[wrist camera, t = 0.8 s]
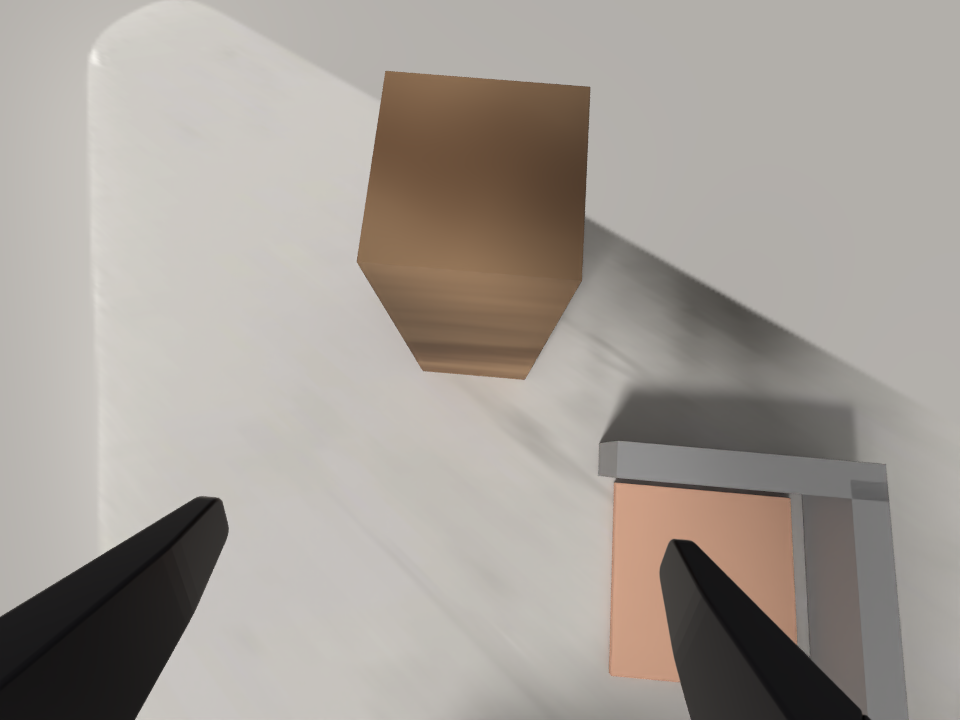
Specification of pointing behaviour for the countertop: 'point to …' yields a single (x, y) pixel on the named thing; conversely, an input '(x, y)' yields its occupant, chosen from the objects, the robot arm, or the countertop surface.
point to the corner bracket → (814, 553)
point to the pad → (720, 534)
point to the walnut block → (476, 217)
